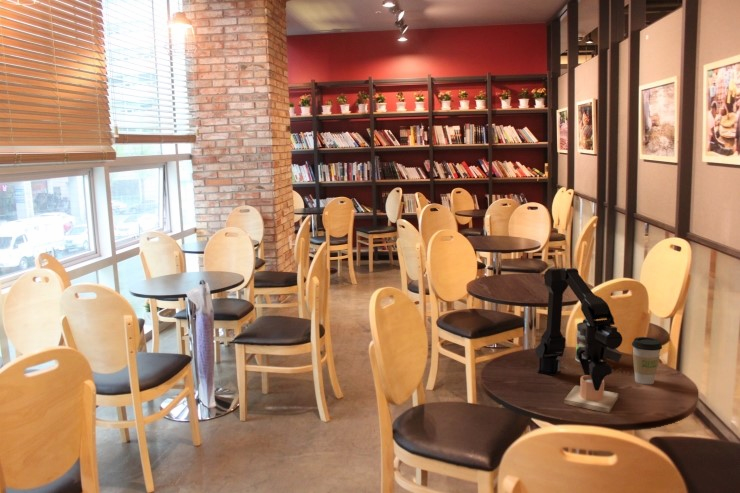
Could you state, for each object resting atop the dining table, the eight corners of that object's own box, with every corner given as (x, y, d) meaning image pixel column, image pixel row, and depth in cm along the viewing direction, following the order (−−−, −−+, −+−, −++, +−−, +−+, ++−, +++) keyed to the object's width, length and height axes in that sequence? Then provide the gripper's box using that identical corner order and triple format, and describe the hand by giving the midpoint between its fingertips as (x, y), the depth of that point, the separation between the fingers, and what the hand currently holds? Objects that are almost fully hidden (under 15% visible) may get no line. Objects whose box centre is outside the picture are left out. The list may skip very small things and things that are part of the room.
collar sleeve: (583, 400, 209) (584, 383, 208) (577, 392, 216) (578, 375, 215) (606, 400, 208) (607, 383, 207) (599, 392, 215) (600, 375, 214)
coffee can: (582, 365, 244) (584, 330, 242) (571, 356, 254) (572, 322, 252) (608, 364, 245) (610, 328, 243) (595, 355, 256) (597, 321, 253)
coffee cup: (657, 388, 222) (660, 346, 219) (627, 383, 227) (629, 342, 224) (661, 379, 230) (664, 339, 227) (632, 374, 235) (634, 334, 233)
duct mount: (564, 403, 210) (565, 384, 209) (575, 389, 222) (576, 371, 221) (608, 412, 203) (609, 393, 202) (618, 397, 214) (619, 379, 213)
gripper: (630, 348, 199) (627, 396, 202) (610, 330, 217) (607, 374, 220) (593, 348, 199) (591, 396, 202) (577, 330, 218) (575, 374, 220)
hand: (592, 384), depth 211 cm, fingers open, 9 cm apart
